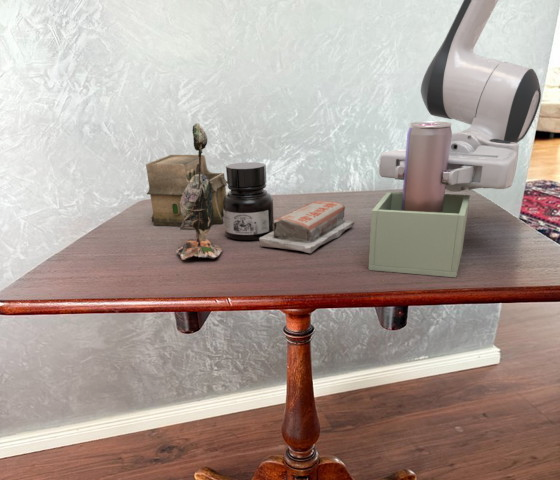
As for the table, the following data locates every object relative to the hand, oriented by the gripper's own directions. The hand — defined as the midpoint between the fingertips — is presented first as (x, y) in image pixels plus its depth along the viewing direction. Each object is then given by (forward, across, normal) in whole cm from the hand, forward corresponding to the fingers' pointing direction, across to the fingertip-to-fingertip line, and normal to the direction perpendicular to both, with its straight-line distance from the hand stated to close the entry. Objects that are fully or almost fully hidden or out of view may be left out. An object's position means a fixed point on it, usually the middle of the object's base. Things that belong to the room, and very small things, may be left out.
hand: (422, 176), depth 77 cm
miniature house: (0, -49, +13) cm, 51 cm away
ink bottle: (+2, -32, +13) cm, 34 cm away
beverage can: (-1, 0, +8) cm, 8 cm away
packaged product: (-2, -22, +13) cm, 25 cm away
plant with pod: (+15, -32, +13) cm, 37 cm away
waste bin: (-1, 0, +13) cm, 13 cm away
